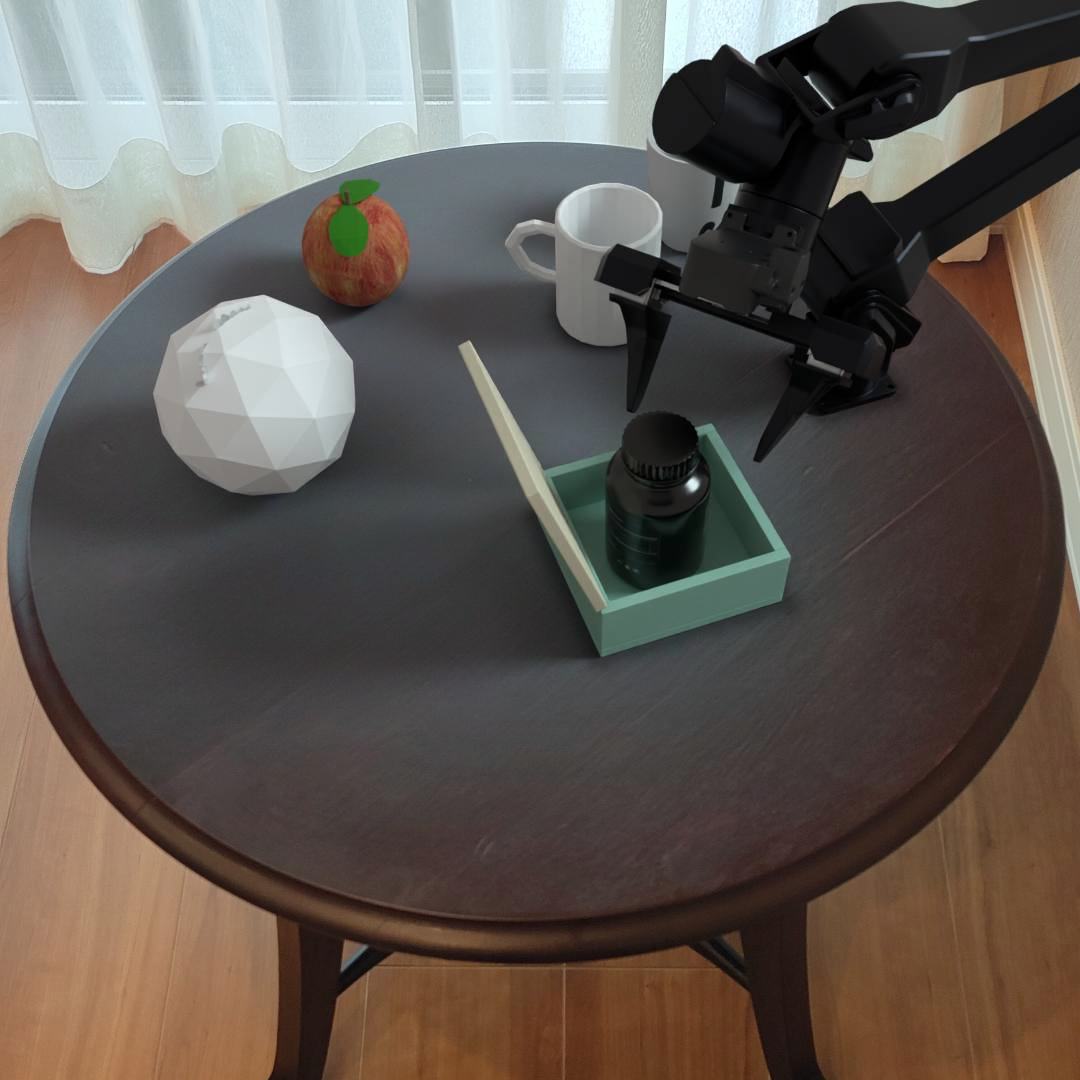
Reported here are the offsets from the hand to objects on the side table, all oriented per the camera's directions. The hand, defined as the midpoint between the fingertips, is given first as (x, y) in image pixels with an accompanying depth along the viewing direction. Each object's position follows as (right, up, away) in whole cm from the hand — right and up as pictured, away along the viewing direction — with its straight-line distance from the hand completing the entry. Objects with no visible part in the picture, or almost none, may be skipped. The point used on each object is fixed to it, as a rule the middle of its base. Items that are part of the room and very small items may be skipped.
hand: (692, 436), depth 87 cm
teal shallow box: (-2, -8, +5) cm, 9 cm away
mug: (-7, +12, +20) cm, 24 cm away
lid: (-10, -3, -6) cm, 12 cm away
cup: (+3, +19, +26) cm, 33 cm away
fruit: (-25, +14, +23) cm, 36 cm away
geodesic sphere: (-30, -1, +11) cm, 32 cm away
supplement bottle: (-2, -8, +4) cm, 9 cm away
